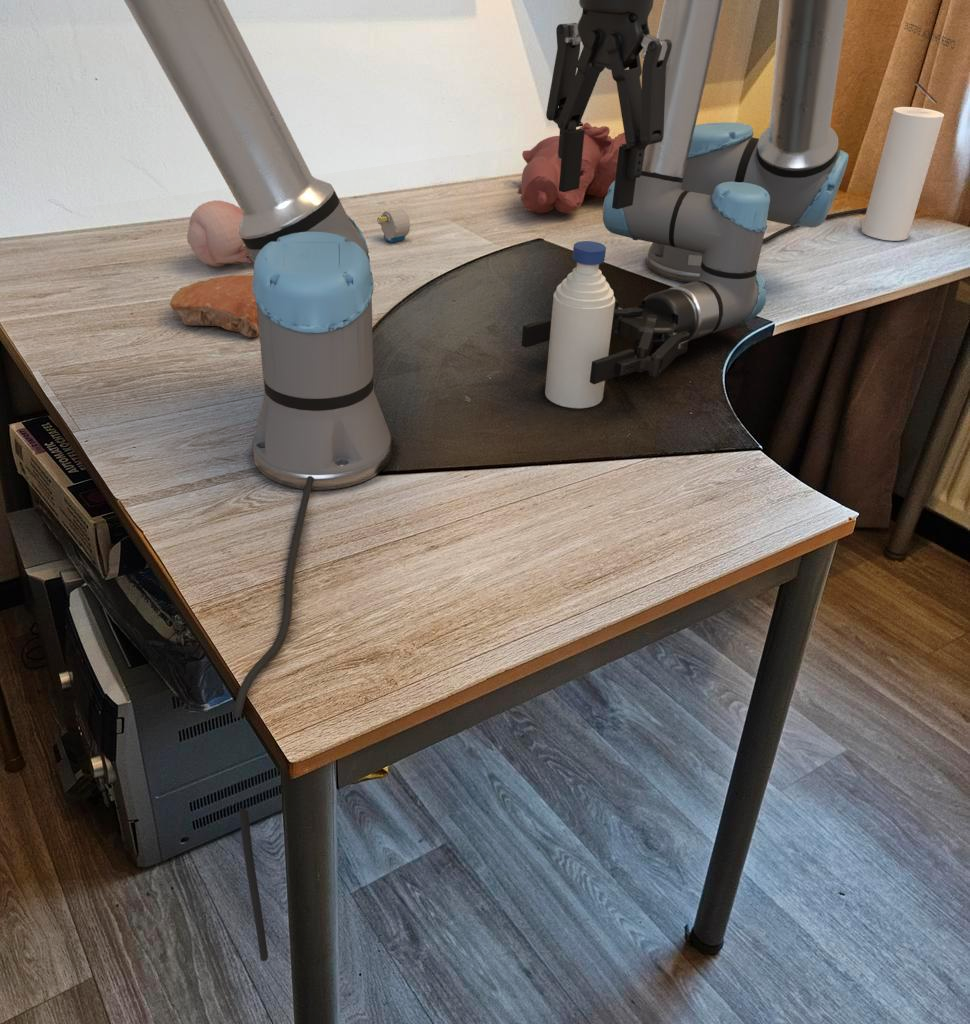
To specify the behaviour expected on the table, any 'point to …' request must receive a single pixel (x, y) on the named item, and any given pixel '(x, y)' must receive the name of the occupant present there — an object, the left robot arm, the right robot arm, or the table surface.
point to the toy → (217, 234)
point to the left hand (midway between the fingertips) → (595, 197)
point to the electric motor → (394, 225)
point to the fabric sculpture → (546, 166)
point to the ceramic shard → (219, 304)
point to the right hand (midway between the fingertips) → (557, 354)
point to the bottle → (579, 337)
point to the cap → (589, 252)
